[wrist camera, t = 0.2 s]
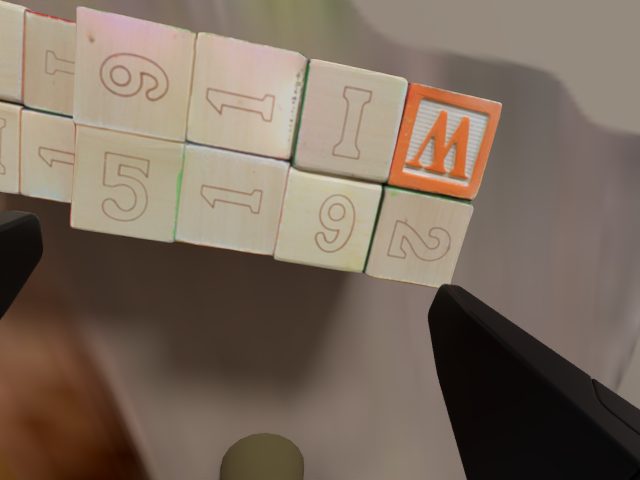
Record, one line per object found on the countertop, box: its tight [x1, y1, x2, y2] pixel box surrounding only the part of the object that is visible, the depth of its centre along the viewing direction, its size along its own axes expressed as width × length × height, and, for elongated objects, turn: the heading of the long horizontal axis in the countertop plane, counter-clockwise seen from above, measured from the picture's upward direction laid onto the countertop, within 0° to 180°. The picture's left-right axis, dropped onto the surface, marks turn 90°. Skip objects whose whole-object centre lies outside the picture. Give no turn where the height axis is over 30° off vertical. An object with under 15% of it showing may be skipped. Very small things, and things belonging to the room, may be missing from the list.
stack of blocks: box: [0, 1, 502, 288], centre depth 17 cm, size 21×6×12 cm, turn 79°
